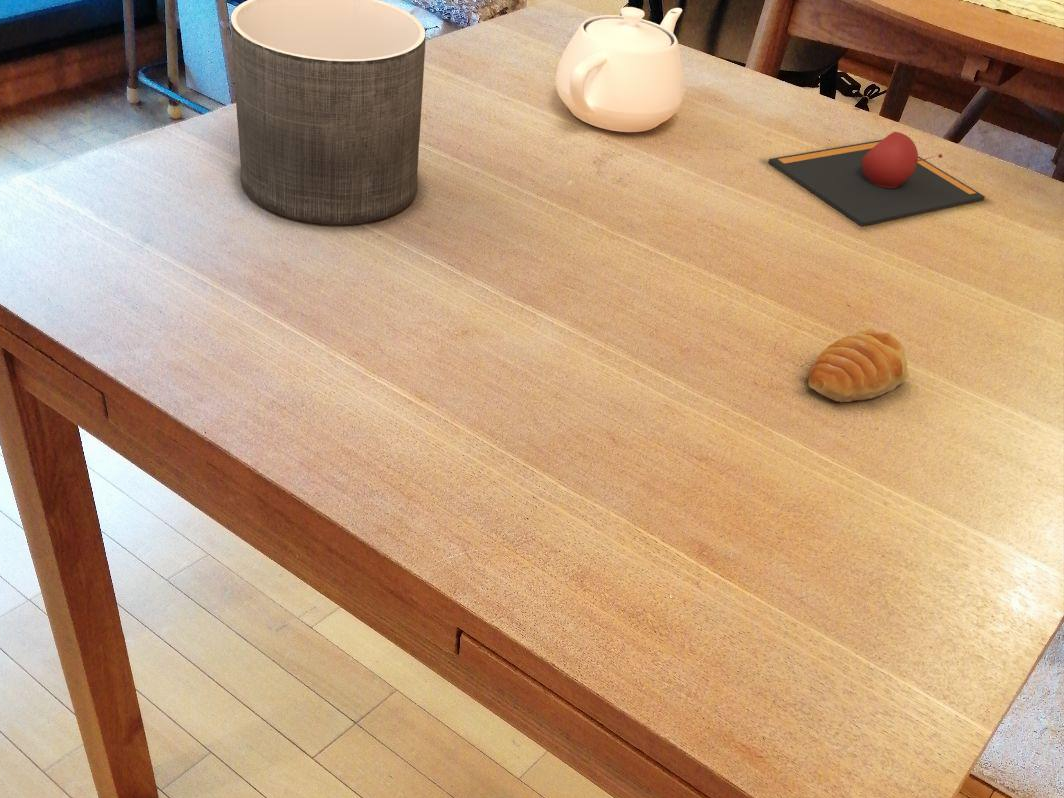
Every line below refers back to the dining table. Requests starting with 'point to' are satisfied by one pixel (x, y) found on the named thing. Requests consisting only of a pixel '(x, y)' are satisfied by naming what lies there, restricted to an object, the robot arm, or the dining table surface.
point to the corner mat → (872, 185)
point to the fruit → (891, 161)
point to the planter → (328, 107)
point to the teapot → (623, 71)
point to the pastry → (859, 367)
